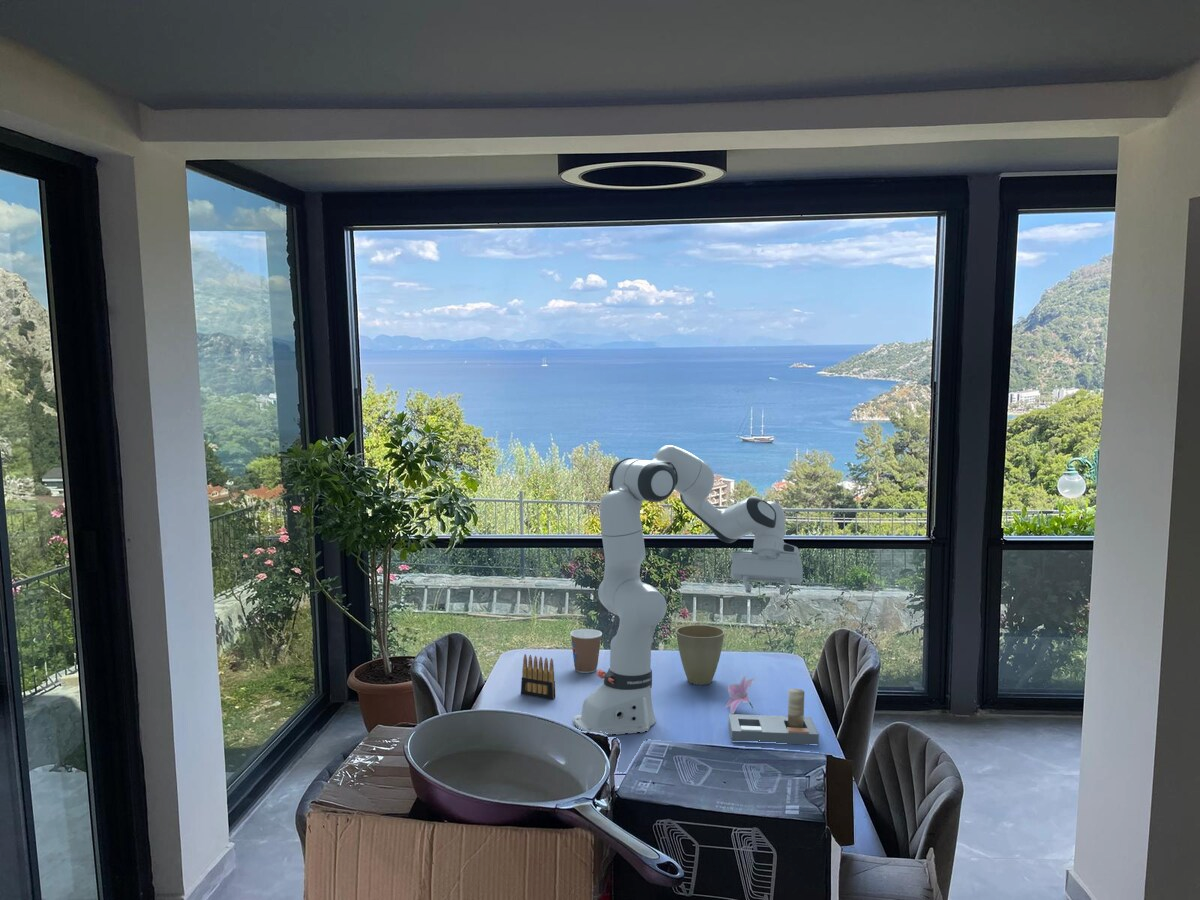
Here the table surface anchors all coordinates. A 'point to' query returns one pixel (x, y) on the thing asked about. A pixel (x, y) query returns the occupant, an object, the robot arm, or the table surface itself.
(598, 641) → the coffee cup
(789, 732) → the socket deck
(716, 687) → the table surface
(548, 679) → the ammunition clip
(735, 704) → the lily
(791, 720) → the peg
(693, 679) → the plant pot
